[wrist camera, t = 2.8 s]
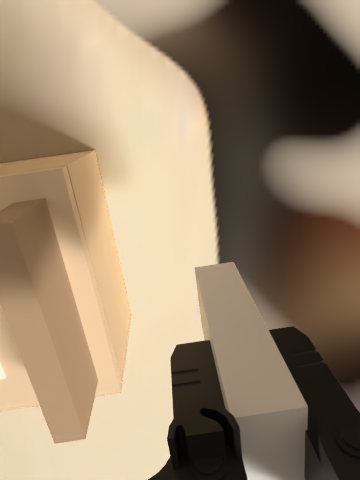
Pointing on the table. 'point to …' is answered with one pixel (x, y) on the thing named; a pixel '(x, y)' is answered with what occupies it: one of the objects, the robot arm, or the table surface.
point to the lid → (50, 306)
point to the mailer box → (93, 238)
